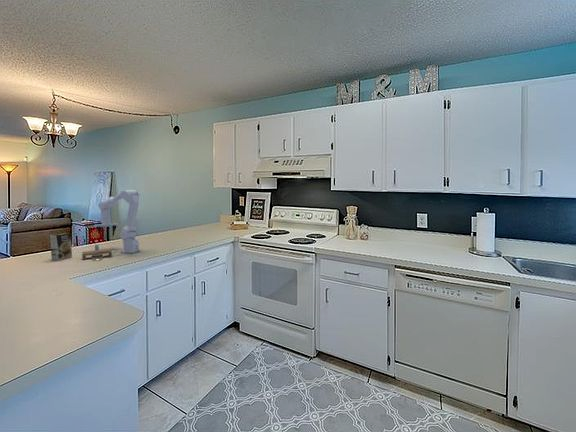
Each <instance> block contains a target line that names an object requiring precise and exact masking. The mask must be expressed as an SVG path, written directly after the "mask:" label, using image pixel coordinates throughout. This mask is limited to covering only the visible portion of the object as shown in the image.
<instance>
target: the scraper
mask: <svg viewBox="0 0 576 432" xmlns="http://www.w3.org/2000/svg"><path fill="white" fill-rule="evenodd" d="M97 250H100V249H99V244H98V243H96V244H94V251H97ZM96 258H102V260H103V259H104V254H98V255H91V260H92V261H93V259H96Z"/></svg>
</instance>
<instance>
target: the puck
mask: <svg viewBox="0 0 576 432" xmlns="http://www.w3.org/2000/svg"><path fill="white" fill-rule="evenodd" d="M100 261H101V262H102V261H103V259H102V258H96V259H93V260H92V262H100Z"/></svg>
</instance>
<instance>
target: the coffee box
mask: <svg viewBox="0 0 576 432" xmlns="http://www.w3.org/2000/svg"><path fill="white" fill-rule="evenodd" d="M71 236H72V235H71V232H61V233H54V234H49V239H50V240H49V241H50V253H51V260H53V261H62V260H67V259H69V258H73V251H72V237H71Z"/></svg>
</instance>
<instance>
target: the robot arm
mask: <svg viewBox="0 0 576 432" xmlns="http://www.w3.org/2000/svg"><path fill="white" fill-rule="evenodd" d="M139 198H140V192H139V191H138V190H137V189H123V190H121V191H120V192H119V193H117V195H115V196H108V198H107V199H105V200H104V201H100V202H99V203H98V209H99V210H100V218H101V219H100V220H101V224H100V223H99V224H94V228H95V229H96V231H97V232H98V234H99V237H100V238H102V233H101V232H102V230H101V228H108V227H109V228H110V227H112V228H111V229H112V237H114V235H115V231H116V228H117V227H119V223H117V222H115V223H112V222H111V220H112V219H111V211H112V207H113V206H115V205H117V204H118V202H119V201H121V200H124V201H125V202H126V203H127V204H128V205H129V206H128V209H127V210H128V211H127V214H126V215H127V216H126V221H125V225H124V226H123V227H122V228H121V231H120V233H119V237H120V239H121V240H122V246H123V247H122V248H123V250H122V251H121V253H124V254H127V253H128V254H133V253H137V252H139V251H141V249H140V242H139V240H138V239H136V237H137V235H138V232H137V227H136V226H135V224H136V220H137V214H138V210H139V205H140V203H139V202H140V201H139V200H140V199H139Z"/></svg>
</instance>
